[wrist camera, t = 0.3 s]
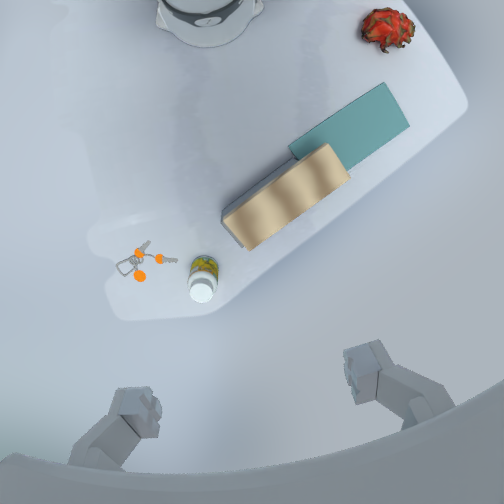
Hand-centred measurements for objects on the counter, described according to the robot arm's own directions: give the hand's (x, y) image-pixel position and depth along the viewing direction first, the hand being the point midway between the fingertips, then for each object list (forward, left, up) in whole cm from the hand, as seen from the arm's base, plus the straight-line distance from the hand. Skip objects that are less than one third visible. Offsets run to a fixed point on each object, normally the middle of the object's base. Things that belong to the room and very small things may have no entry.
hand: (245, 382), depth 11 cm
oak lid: (+3, +7, -39) cm, 40 cm away
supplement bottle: (+17, -9, -46) cm, 50 cm away
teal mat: (-6, +22, -46) cm, 51 cm away
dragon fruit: (-26, +30, -46) cm, 61 cm away
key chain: (+14, -21, -46) cm, 52 cm away
